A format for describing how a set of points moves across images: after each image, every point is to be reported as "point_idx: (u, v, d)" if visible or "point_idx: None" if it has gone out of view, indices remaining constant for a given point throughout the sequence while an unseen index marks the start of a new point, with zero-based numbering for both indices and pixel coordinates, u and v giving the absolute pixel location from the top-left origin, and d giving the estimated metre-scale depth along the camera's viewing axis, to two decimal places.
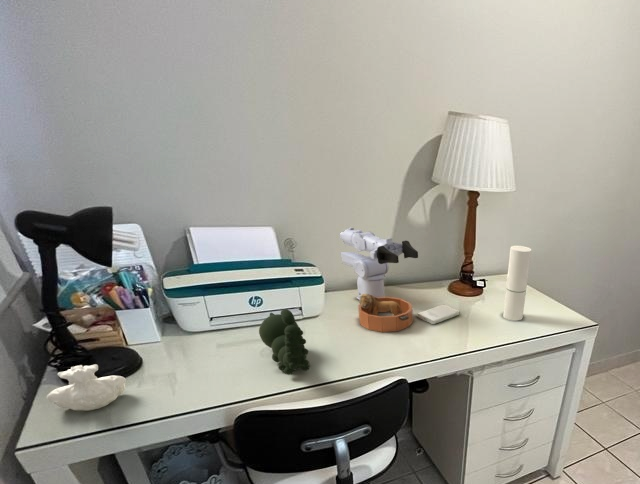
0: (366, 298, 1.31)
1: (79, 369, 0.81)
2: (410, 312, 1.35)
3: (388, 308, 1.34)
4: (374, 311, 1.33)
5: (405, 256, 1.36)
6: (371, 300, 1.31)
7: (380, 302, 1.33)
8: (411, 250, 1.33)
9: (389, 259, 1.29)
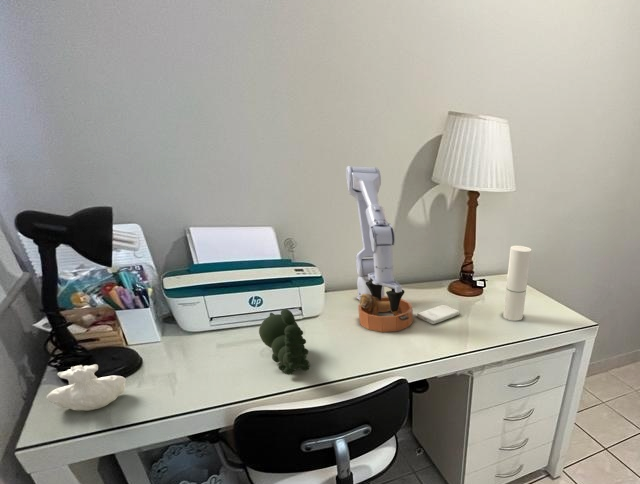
0: (366, 298, 1.31)
1: (79, 369, 0.81)
2: (410, 312, 1.35)
3: (388, 308, 1.34)
4: (374, 311, 1.33)
5: None
6: (371, 299, 1.32)
7: (380, 302, 1.34)
8: None
9: None
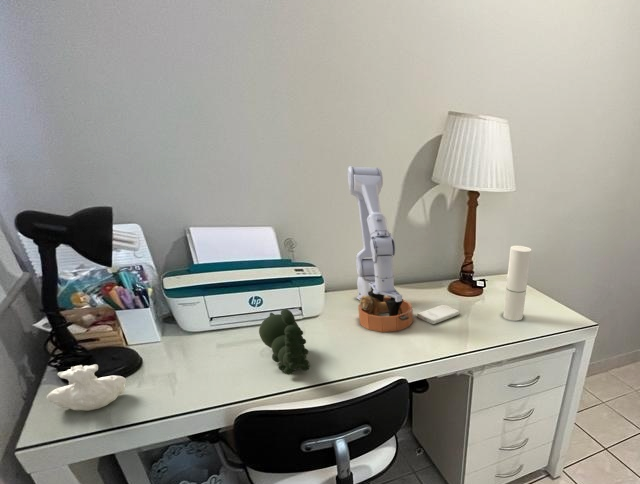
0: (367, 300, 1.29)
1: (79, 369, 0.81)
2: (410, 312, 1.35)
3: None
4: (375, 312, 1.33)
5: None
6: (372, 301, 1.31)
7: (380, 303, 1.33)
8: None
9: None
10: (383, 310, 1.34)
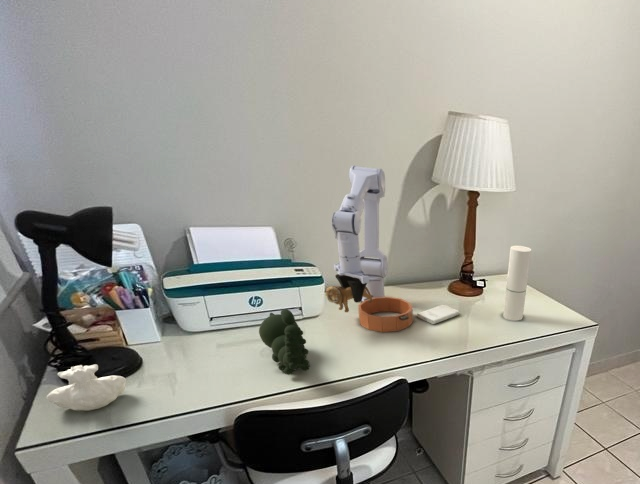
0: (334, 291, 1.18)
1: (79, 369, 0.81)
2: (410, 312, 1.35)
3: None
4: (345, 301, 1.23)
5: None
6: (339, 290, 1.20)
7: (346, 289, 1.23)
8: None
9: None
10: (351, 296, 1.24)
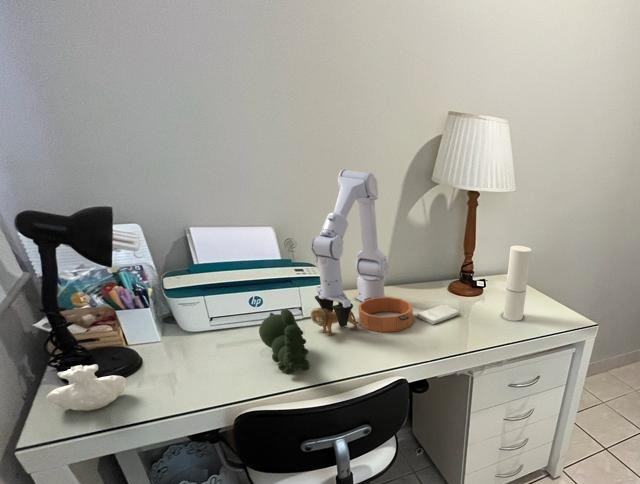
0: (320, 312, 1.19)
1: (79, 369, 0.81)
2: (410, 312, 1.35)
3: None
4: (329, 324, 1.23)
5: None
6: (325, 312, 1.21)
7: (332, 313, 1.23)
8: None
9: None
10: (336, 320, 1.24)
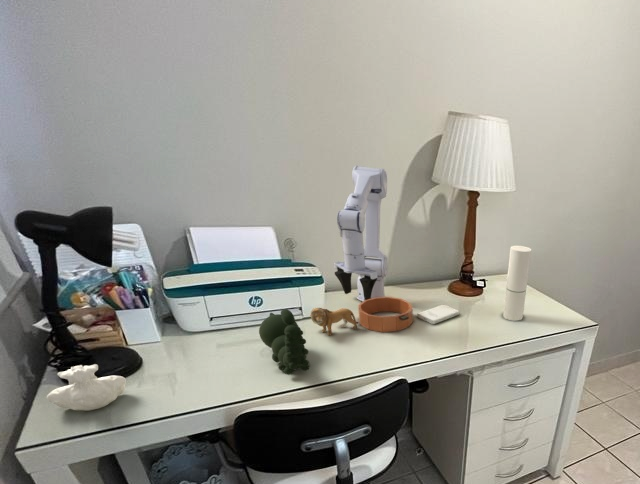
0: (320, 312, 1.19)
1: (79, 369, 0.81)
2: (410, 312, 1.35)
3: (342, 317, 1.25)
4: (329, 324, 1.23)
5: None
6: (325, 312, 1.21)
7: (332, 313, 1.23)
8: None
9: None
10: (336, 320, 1.24)
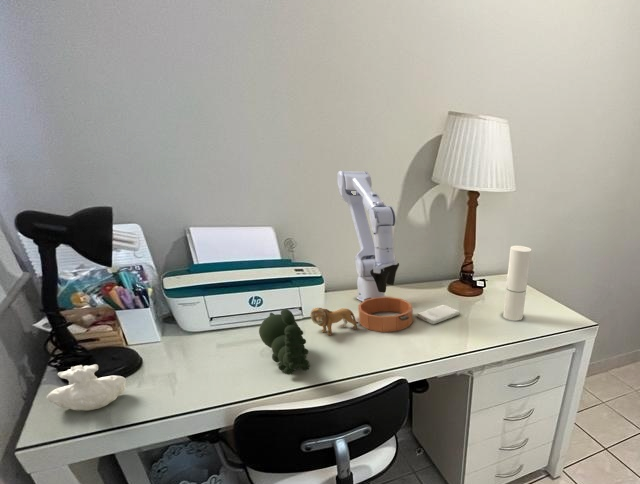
0: (320, 312, 1.19)
1: (79, 369, 0.81)
2: (410, 312, 1.35)
3: (342, 317, 1.25)
4: (329, 324, 1.23)
5: None
6: (325, 312, 1.21)
7: (332, 313, 1.23)
8: (392, 278, 1.39)
9: (378, 281, 1.31)
10: (336, 320, 1.24)
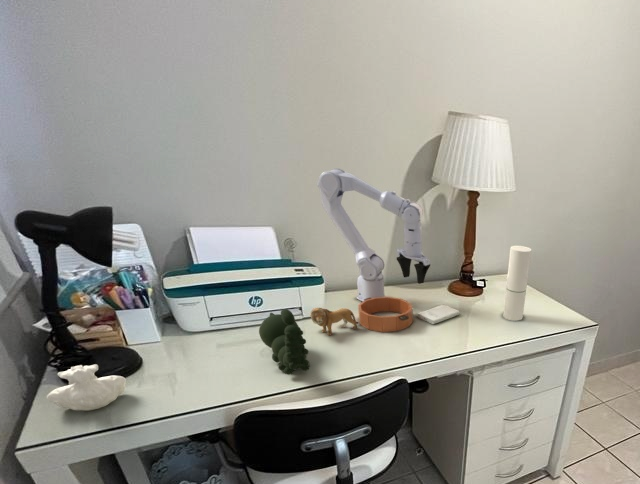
0: (320, 312, 1.19)
1: (79, 369, 0.81)
2: (410, 312, 1.35)
3: (342, 317, 1.25)
4: (329, 324, 1.23)
5: (401, 261, 1.43)
6: (325, 312, 1.21)
7: (332, 313, 1.23)
8: (408, 270, 1.47)
9: (420, 274, 1.42)
10: (336, 320, 1.24)
